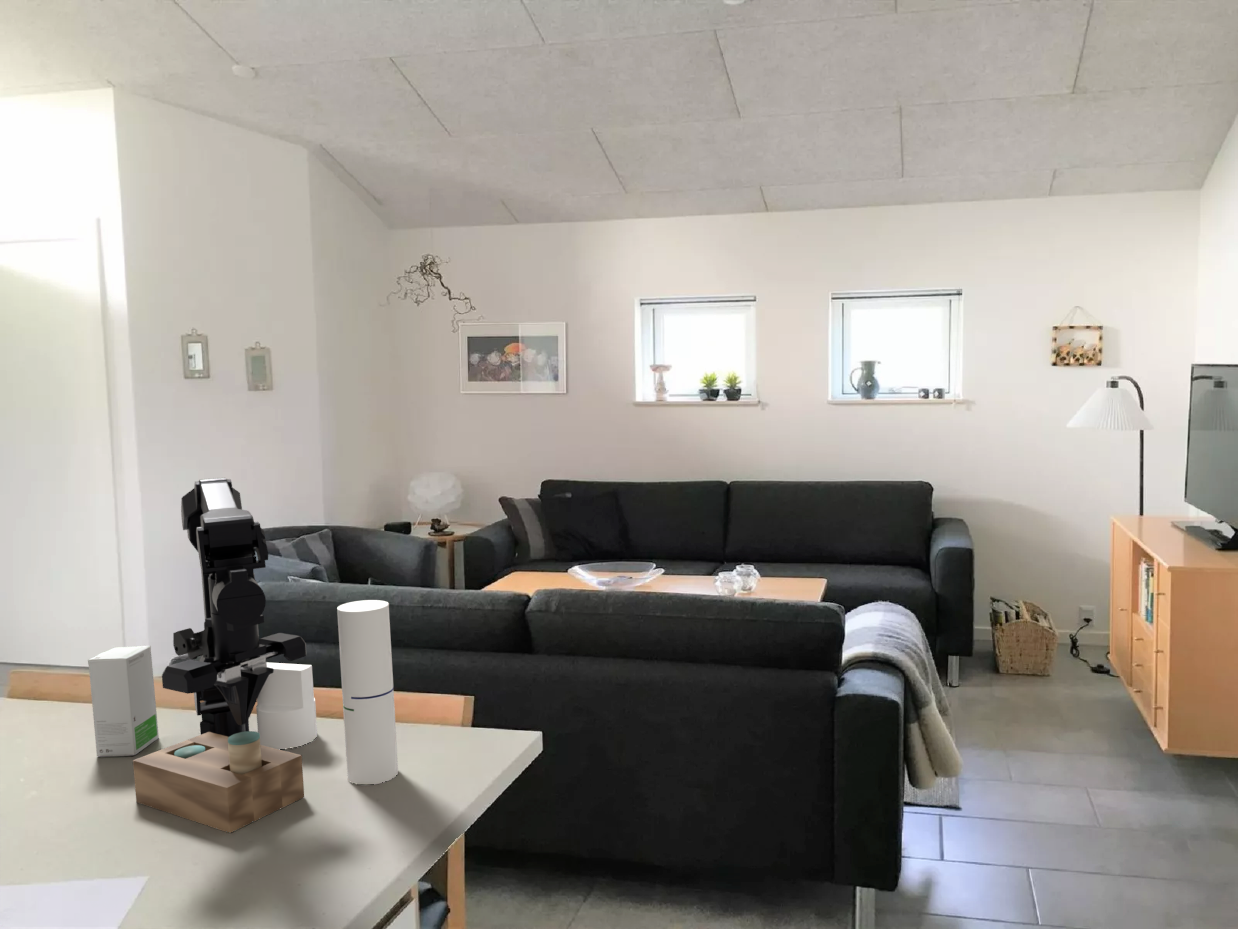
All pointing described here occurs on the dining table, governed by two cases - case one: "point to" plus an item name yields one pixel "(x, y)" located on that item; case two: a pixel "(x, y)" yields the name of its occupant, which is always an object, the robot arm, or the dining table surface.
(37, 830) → the dining table surface
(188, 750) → the peg
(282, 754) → the socket block
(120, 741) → the skincare box
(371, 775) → the cylindrical container
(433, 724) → the dining table surface
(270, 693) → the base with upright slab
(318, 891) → the dining table surface
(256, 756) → the peg
